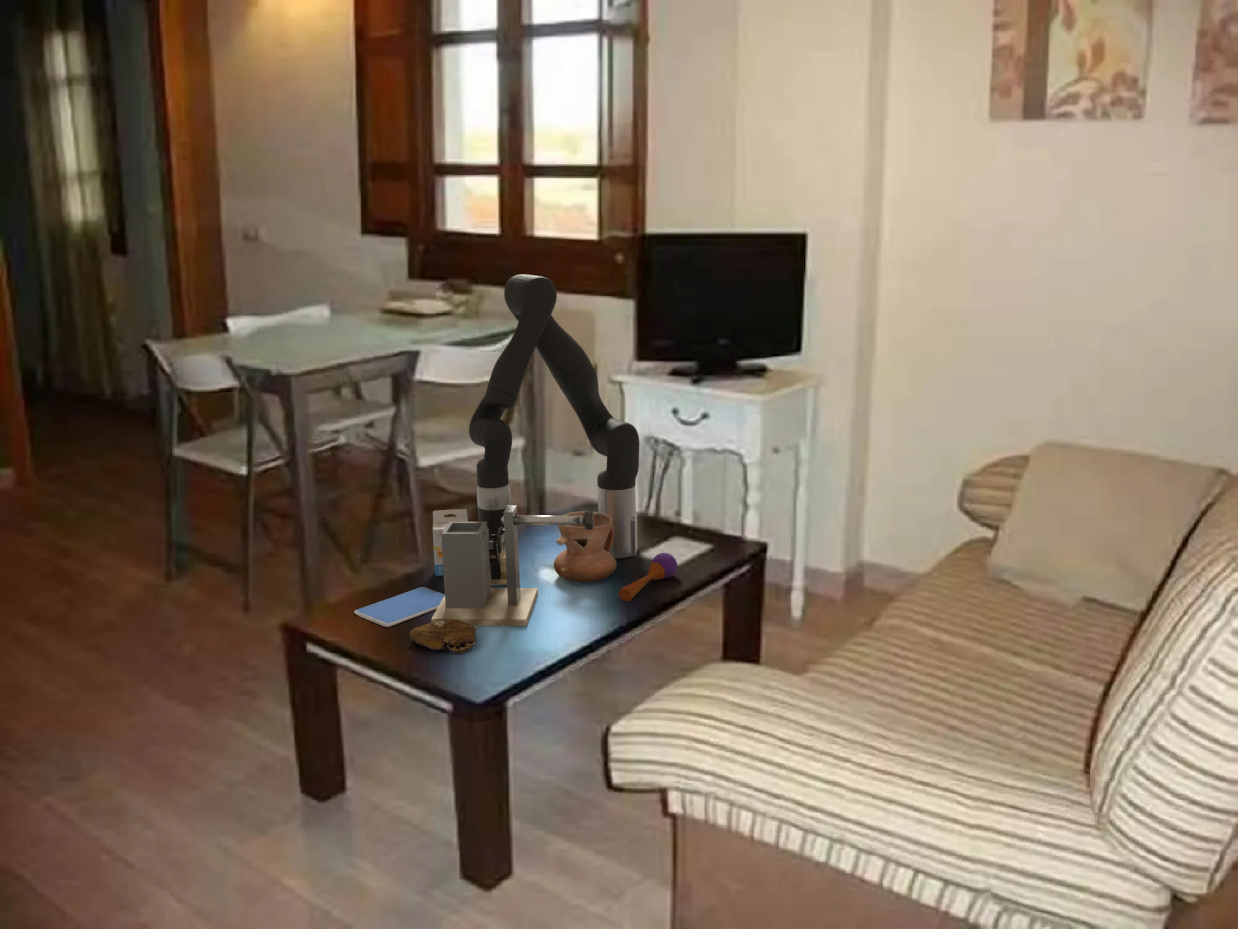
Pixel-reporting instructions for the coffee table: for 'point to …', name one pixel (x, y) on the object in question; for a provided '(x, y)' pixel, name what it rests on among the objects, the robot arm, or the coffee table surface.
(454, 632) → the decorative rock
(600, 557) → the ceramic jug
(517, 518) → the steel shaft
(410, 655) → the coffee table surface
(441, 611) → the birch board
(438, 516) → the ink box
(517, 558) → the shaft bracket
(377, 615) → the tablet computer
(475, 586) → the pedestal
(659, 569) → the purple maraca
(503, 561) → the collar
